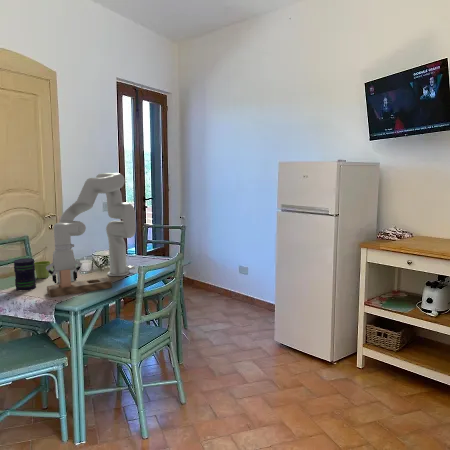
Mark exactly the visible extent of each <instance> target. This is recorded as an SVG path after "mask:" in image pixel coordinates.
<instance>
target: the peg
mask: <svg viewBox="0 0 450 450" xmlns="http://www.w3.org/2000/svg"><path fill="white" fill-rule="evenodd" d="M59 276H60V283H59V284H60V288H64V287H71V274H70V269H69V270H61V271H59Z"/></svg>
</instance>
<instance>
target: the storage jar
mask: <svg viewBox="0 0 450 450" xmlns="http://www.w3.org/2000/svg"><path fill="white" fill-rule="evenodd" d="M34 263H35V259H34V258H30V257H28V258H27V257H26V258H19V259H15V260H14V261H13V270H14V271H13V272H14V274H15V275H14V277H15V278H14V281H15V283H14V284H15V290H16V291H17V290H28V291H32V290H35V289H36V288H37V284H36V283H37V279H36V274H35V273H36V270H35V264H34ZM31 289H32V290H31Z"/></svg>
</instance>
